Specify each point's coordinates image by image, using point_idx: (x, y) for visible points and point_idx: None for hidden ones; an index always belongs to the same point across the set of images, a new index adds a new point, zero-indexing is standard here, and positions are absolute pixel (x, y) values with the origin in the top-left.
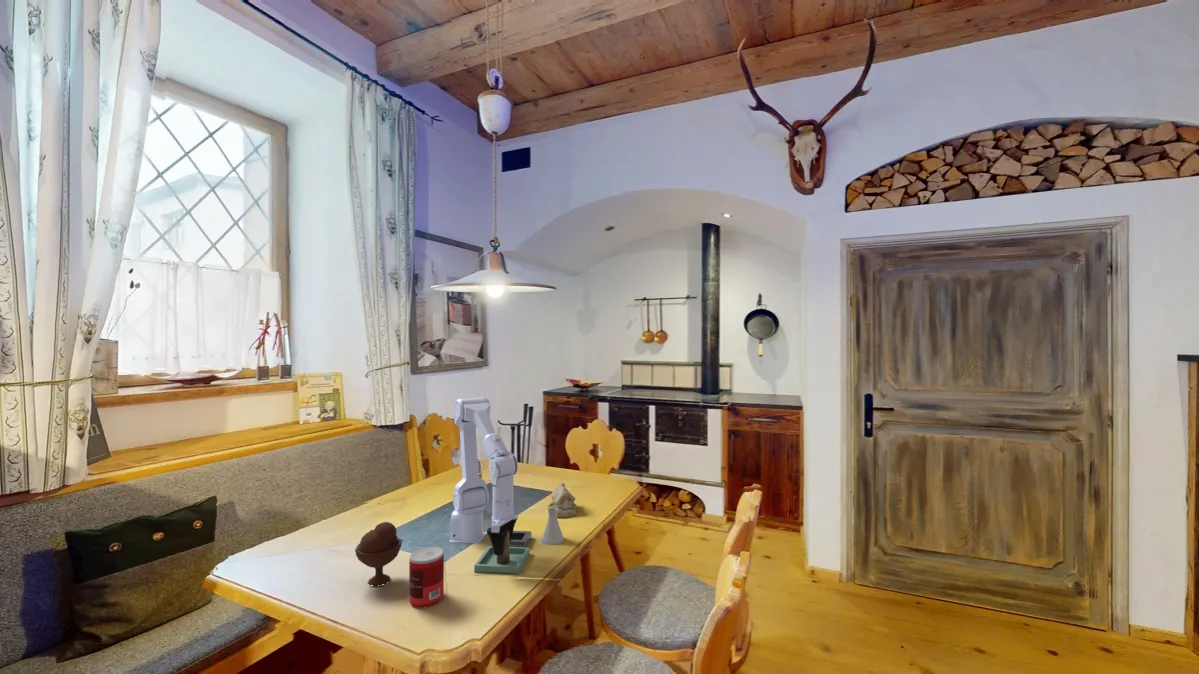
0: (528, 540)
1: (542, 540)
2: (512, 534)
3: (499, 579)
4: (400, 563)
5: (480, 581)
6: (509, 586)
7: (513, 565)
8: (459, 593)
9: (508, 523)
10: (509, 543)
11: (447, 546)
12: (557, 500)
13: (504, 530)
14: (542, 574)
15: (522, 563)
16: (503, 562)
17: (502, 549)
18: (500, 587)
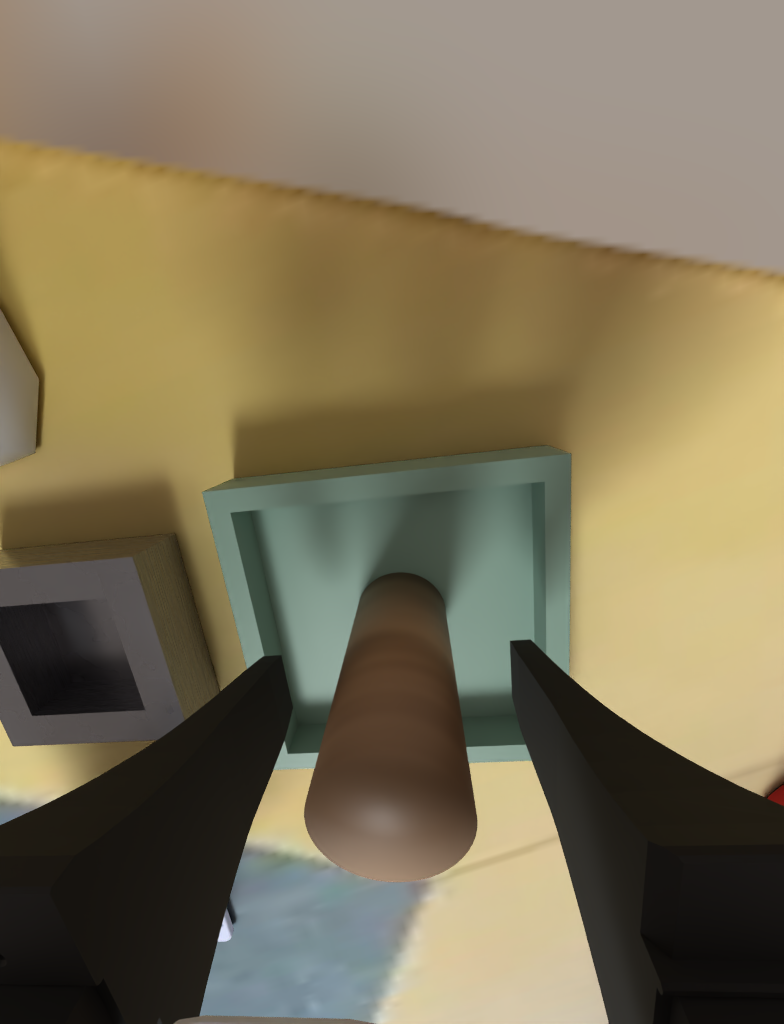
0: (56, 554)
1: (2, 449)
2: (36, 689)
3: (601, 554)
4: (482, 1015)
5: (634, 652)
6: (697, 455)
7: (442, 526)
8: (780, 706)
9: (173, 871)
10: (379, 654)
11: (270, 922)
12: None
13: (732, 920)
14: (497, 265)
15: (440, 462)
16: (443, 603)
17: (562, 672)
18: (711, 509)
